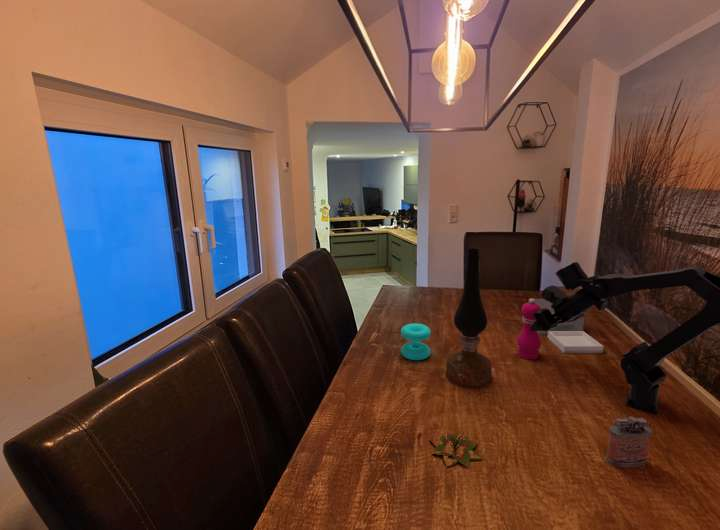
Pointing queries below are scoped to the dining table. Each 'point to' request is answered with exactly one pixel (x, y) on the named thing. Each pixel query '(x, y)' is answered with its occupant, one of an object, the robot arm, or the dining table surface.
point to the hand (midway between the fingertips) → (539, 326)
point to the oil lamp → (470, 333)
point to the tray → (575, 342)
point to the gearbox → (567, 326)
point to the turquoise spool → (415, 348)
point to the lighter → (628, 442)
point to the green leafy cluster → (465, 443)
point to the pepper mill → (529, 332)
